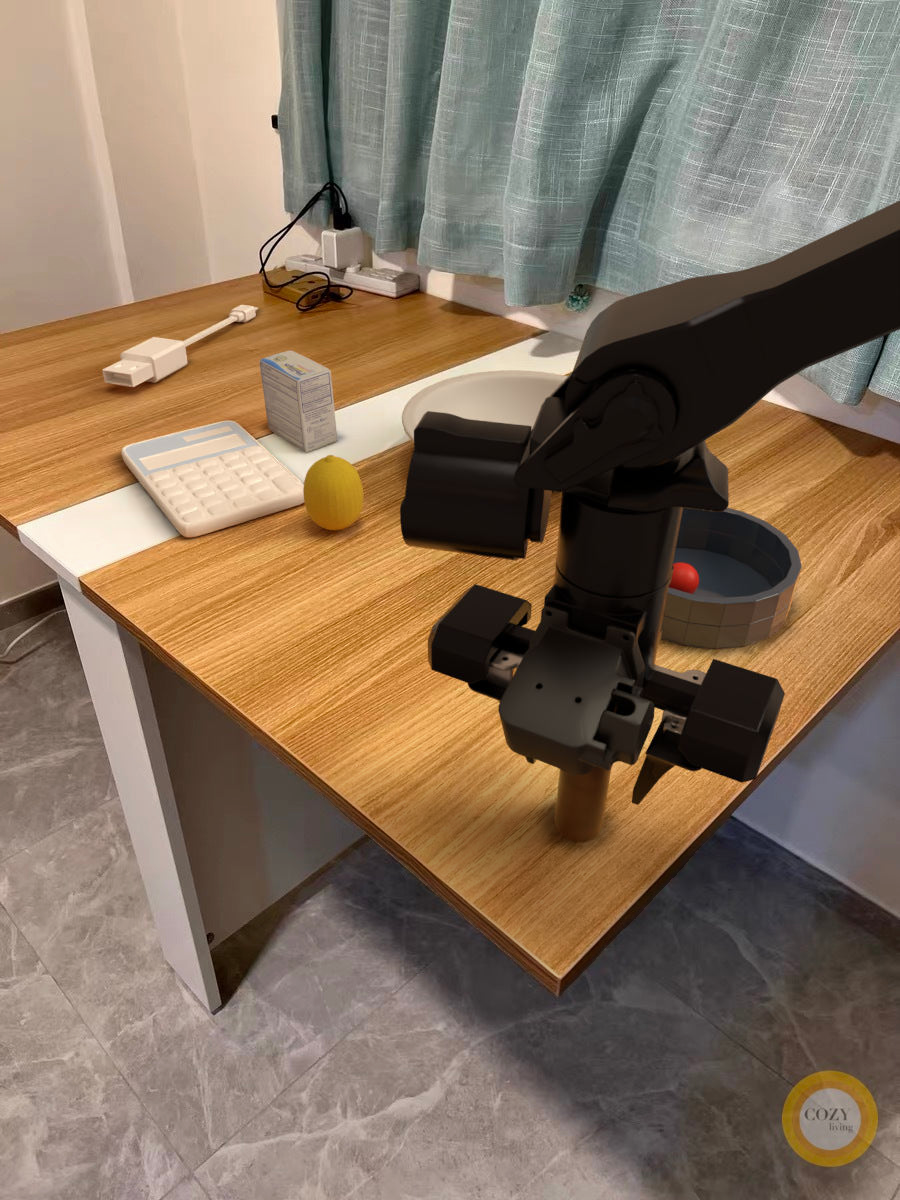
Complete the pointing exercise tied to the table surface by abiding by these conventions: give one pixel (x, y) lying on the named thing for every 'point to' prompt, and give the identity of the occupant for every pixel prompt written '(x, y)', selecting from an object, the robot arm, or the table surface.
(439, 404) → the soup bowl
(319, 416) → the medicine box
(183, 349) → the charging cable
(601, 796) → the brown cylinder
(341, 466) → the lemon
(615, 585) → the robot arm
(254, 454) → the calculator
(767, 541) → the bowl
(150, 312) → the table surface
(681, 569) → the tomato
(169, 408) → the table surface
